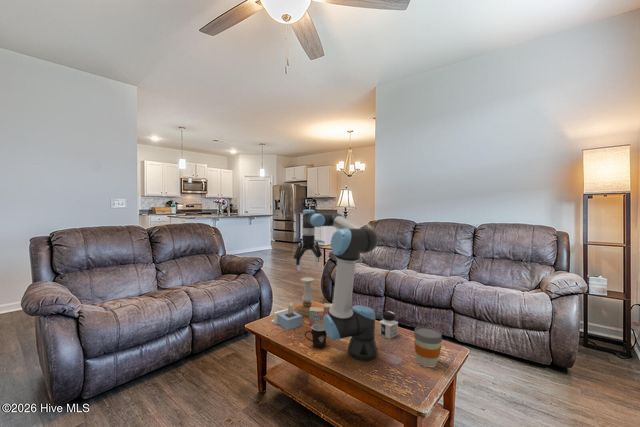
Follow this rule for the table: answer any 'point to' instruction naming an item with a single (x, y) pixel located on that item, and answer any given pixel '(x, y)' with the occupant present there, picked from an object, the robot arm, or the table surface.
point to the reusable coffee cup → (427, 345)
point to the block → (289, 320)
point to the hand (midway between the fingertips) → (307, 268)
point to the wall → (277, 315)
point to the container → (388, 325)
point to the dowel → (290, 308)
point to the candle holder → (306, 297)
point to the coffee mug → (318, 336)
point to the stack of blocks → (318, 314)
